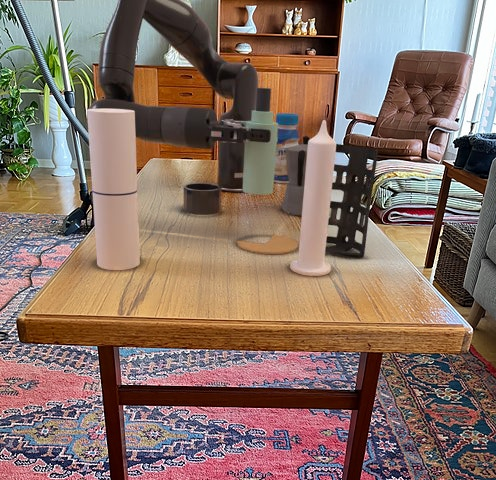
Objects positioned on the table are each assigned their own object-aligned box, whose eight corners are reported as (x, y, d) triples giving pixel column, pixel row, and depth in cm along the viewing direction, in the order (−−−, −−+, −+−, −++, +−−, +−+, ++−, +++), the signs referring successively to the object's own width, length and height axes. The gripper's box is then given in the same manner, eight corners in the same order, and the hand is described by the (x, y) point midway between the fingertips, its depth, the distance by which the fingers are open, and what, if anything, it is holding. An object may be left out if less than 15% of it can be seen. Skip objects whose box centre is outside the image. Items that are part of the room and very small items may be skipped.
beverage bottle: (294, 179, 170) (299, 113, 162) (298, 184, 162) (303, 115, 154) (268, 178, 169) (271, 112, 161) (270, 183, 161) (275, 114, 154)
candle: (320, 279, 88) (336, 123, 79) (282, 270, 92) (294, 119, 82) (336, 267, 94) (353, 120, 85) (301, 259, 97) (313, 117, 88)
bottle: (246, 187, 107) (252, 86, 100) (275, 190, 106) (283, 88, 99) (238, 192, 102) (243, 87, 95) (269, 196, 101) (276, 89, 93)
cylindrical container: (102, 272, 87) (92, 112, 77) (93, 258, 93) (82, 108, 83) (145, 267, 90) (140, 112, 81) (133, 254, 96) (127, 108, 86)
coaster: (245, 233, 112) (245, 231, 111) (302, 239, 109) (302, 237, 109) (230, 249, 101) (230, 247, 101) (292, 257, 98) (292, 255, 98)
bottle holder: (190, 205, 131) (190, 181, 129) (225, 209, 129) (225, 184, 127) (178, 214, 123) (177, 188, 121) (214, 218, 121) (214, 192, 119)
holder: (304, 248, 102) (319, 142, 96) (317, 243, 109) (332, 142, 103) (359, 260, 98) (378, 149, 92) (370, 253, 104) (388, 149, 98)
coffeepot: (284, 203, 138) (289, 131, 131) (321, 207, 136) (328, 134, 129) (275, 218, 124) (280, 138, 117) (316, 222, 122) (323, 142, 115)
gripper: (175, 109, 95) (267, 116, 91) (202, 105, 108) (283, 111, 104) (175, 152, 98) (264, 160, 94) (201, 143, 111) (280, 150, 107)
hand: (273, 134), depth 99 cm, fingers closed on bottle, 6 cm apart
